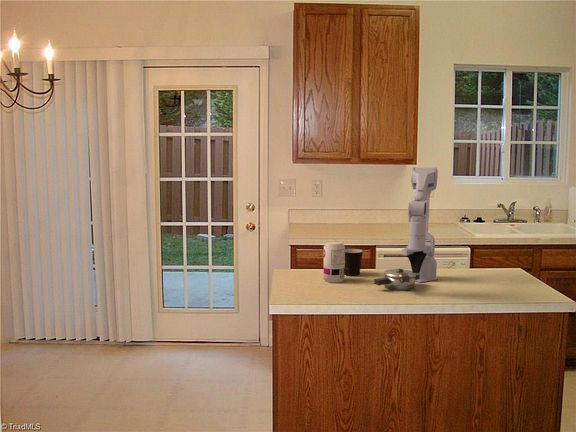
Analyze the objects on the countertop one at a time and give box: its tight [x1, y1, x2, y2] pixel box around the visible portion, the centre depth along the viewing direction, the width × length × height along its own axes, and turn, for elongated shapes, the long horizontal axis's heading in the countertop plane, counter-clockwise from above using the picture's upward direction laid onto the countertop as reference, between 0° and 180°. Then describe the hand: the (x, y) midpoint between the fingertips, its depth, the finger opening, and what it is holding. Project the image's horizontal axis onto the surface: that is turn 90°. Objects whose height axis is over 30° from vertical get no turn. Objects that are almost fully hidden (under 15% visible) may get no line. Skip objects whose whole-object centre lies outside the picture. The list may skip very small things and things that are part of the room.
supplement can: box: [322, 240, 346, 284], centre depth 206 cm, size 8×8×15 cm
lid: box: [383, 268, 416, 282], centre depth 194 cm, size 17×12×2 cm
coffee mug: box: [344, 248, 364, 277], centre depth 218 cm, size 12×9×10 cm
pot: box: [373, 274, 420, 292], centre depth 197 cm, size 19×11×4 cm, turn 119°
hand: (415, 272), depth 188 cm, fingers closed
